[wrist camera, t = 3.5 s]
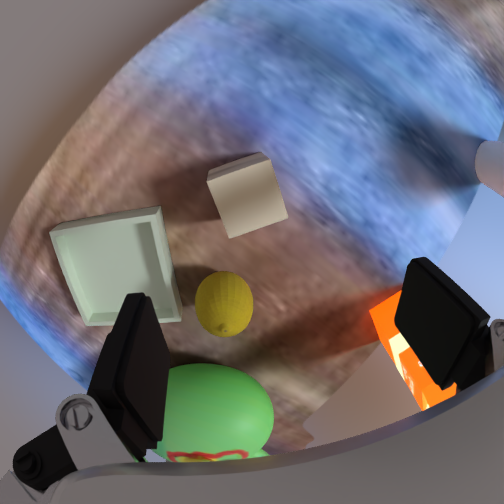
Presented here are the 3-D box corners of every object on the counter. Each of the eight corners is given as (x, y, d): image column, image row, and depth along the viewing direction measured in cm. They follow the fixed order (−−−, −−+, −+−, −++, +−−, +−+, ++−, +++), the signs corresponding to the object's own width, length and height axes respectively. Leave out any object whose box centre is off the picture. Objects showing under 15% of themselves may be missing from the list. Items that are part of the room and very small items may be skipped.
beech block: (276, 200, 27) (288, 218, 22) (227, 217, 27) (229, 238, 23) (260, 151, 25) (270, 159, 20) (208, 170, 25) (206, 181, 20)
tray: (182, 307, 31) (180, 321, 29) (92, 313, 30) (86, 325, 28) (160, 205, 26) (155, 214, 23) (59, 223, 25) (49, 232, 22)
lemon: (187, 287, 30) (181, 338, 23) (214, 248, 28) (214, 294, 21) (230, 308, 32) (235, 360, 25) (258, 273, 30) (271, 321, 23)
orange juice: (425, 310, 37) (496, 402, 19) (379, 340, 38) (439, 445, 20) (419, 276, 34) (510, 376, 16) (368, 309, 35) (443, 430, 17)
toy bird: (260, 332, 34) (283, 436, 21) (268, 402, 42) (284, 479, 29) (125, 346, 33) (102, 441, 20) (164, 411, 41) (159, 486, 28)
